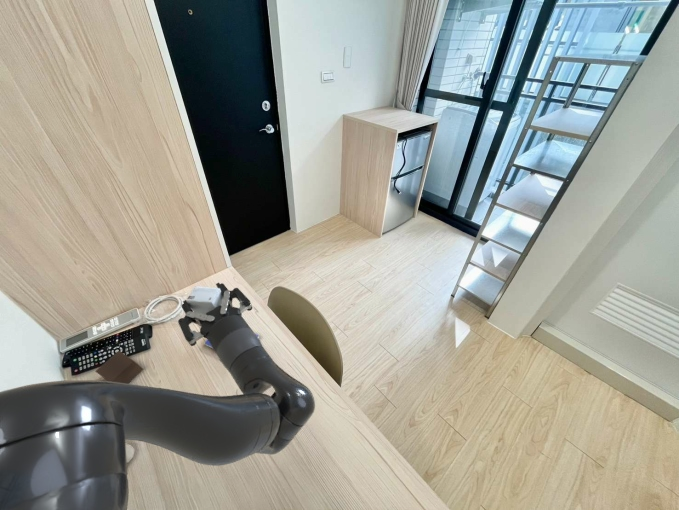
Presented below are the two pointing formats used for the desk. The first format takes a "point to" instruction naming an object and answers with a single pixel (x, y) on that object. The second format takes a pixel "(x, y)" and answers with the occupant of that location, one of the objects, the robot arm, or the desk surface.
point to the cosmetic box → (204, 299)
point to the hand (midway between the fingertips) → (202, 294)
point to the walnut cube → (119, 369)
